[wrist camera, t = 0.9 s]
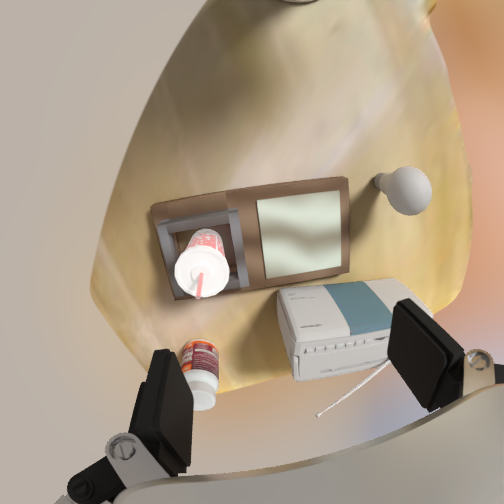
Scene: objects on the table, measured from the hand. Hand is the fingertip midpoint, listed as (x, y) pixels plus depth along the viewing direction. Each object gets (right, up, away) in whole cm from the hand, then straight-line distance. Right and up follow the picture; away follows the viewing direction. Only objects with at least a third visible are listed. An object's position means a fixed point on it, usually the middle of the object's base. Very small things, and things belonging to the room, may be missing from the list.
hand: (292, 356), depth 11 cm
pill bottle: (-10, -13, +35) cm, 39 cm away
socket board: (-1, +6, +28) cm, 29 cm away
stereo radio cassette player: (+12, -3, +34) cm, 36 cm away
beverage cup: (-8, +5, +28) cm, 30 cm away
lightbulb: (+17, +15, +27) cm, 35 cm away
